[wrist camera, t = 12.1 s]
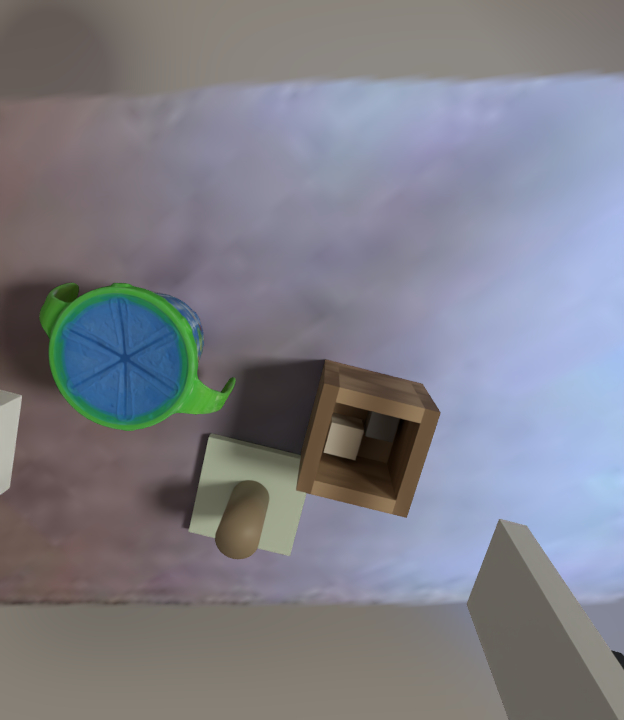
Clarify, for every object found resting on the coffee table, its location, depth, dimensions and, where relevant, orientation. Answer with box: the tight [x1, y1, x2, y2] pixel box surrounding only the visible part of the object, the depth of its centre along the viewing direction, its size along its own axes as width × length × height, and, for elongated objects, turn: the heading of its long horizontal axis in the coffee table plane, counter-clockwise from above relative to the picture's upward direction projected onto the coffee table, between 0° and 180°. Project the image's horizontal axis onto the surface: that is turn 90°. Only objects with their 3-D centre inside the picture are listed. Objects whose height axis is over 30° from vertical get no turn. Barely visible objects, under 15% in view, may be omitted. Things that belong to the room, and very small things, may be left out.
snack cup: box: [39, 283, 236, 431], centre depth 42 cm, size 16×10×10 cm
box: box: [296, 359, 441, 518], centre depth 44 cm, size 9×9×8 cm
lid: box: [189, 433, 306, 559], centre depth 46 cm, size 10×10×8 cm
